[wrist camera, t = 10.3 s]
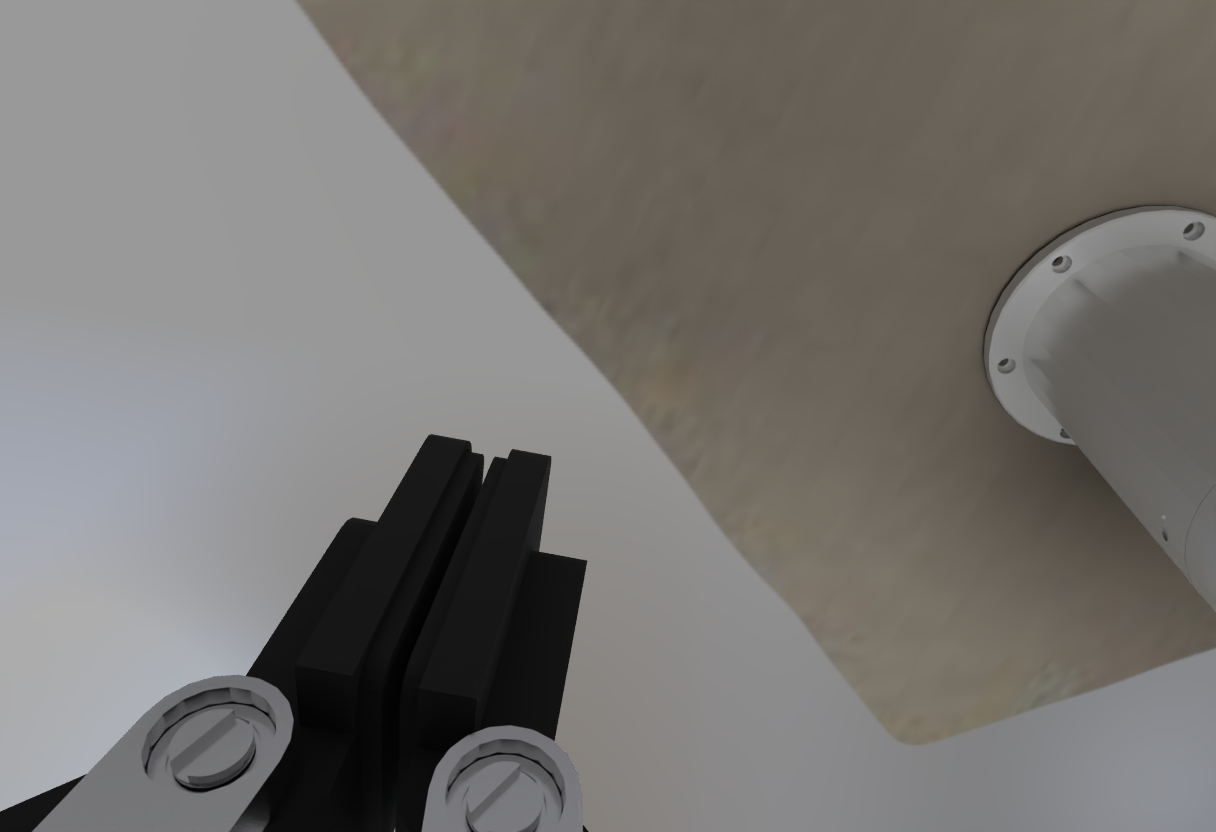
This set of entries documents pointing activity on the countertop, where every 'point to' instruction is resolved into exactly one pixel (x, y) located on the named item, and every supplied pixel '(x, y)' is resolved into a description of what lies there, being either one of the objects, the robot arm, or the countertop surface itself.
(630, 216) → the countertop surface
